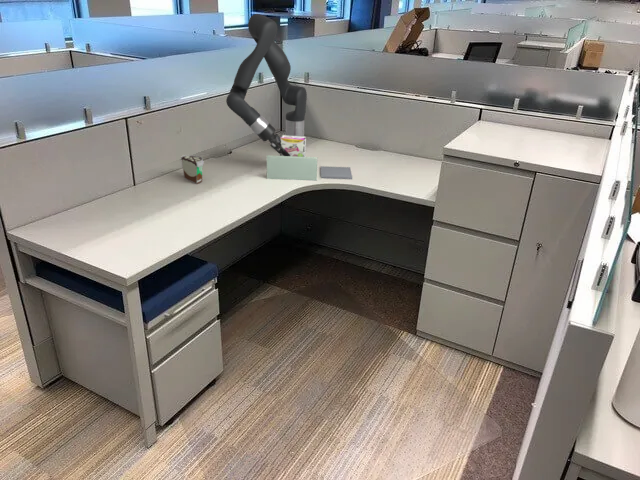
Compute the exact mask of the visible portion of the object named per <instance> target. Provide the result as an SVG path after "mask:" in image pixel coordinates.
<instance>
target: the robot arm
mask: <svg viewBox="0 0 640 480" xmlns="http://www.w3.org/2000/svg"><path fill="white" fill-rule="evenodd" d="M247 25H248V26H247V28H248V32H249V34H250V36H251V37H252V38H253V40H254V42H255V43H256V44H255V48H254V49H253V51H251V53H250V54H249V55H248V56H247V57H245V58H244V60H243V61H242V62H241V63H240V64H239V67H238V69H237V72H236V74H235V77H234V79H233V80H234V81H233V84H232V87H231V88H230V90H229V93H228V94H227V96H226V100H225V101H226V106H227V107H228V108H229V109H230V110H231V111H232V112H233V113H234V114H236V115H237V116H238V117H239V118H241V120H243V122H244V123H245V124H246V125H248V127H249V128H250V129H251V130H252V132H254V134H255V135H256V136H257V137H259V138H260V139H261V140H262V141H263V142H267V141H269V144H270V147H271V148H272V149H273V150H275V151H276V152H277V153H278V154H279V155H280V153H281V154H282V155H283V156H290V154H289V153H288V152H287V151H286V150H285V149H284V148H283V147H282V144H281V143H280V138H281V136H279V135H278V133H275V132H276V128H275V127H274V126H273V125H272V124H271V123H270V122H269V121H268V120H267V119H266V118H265V117H264V116H262V115H261V114H260V112H258V111H257V110H256V109H255V108H254V107H253V106H251V105H250V104H249V103H248V102H247V101H246V100H245V98H246V96H247V92H248V90H249V88H250V87H251V84H252V83H253V80H254V78H255V74H256V72H257V70H258V68H259V67H260V64H261V62H262V61H263V59H264V60H265V62H266V65H267V67H268V69H269V71H270V73H271V74H272V77H273V78H274V80H275V83H276V84H277V85H276V86H277V87H278V90H279V93H280V96H281V99H282V101H283V102H284V104H286V105H288V106H294V110H292V111H289V112H287V113H286V114H285V135H289V136H301V137H305V119H306V118H305V117H306V111H307V110H306V109H307V99H308V98H307V97H308V94H307V89H306V88H305V87H304V86H299V85H293V84H291V83H290V81H289V80H288V79H289V76H290V74H291V69H292V67H291V63H290V62H289V58H288V57H287V55H286V53H285V52H284V50H283V49H282V48H281V47H280V46H279V44H277V42H276V41H275V39H276V36H277V33H278V24H277V22H276V21H274V19H271V18H269V17H268V16H266V15H263V14H260V13H254V14H252V15H251V16H250V17H249V18H248V23H247Z"/></svg>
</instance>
